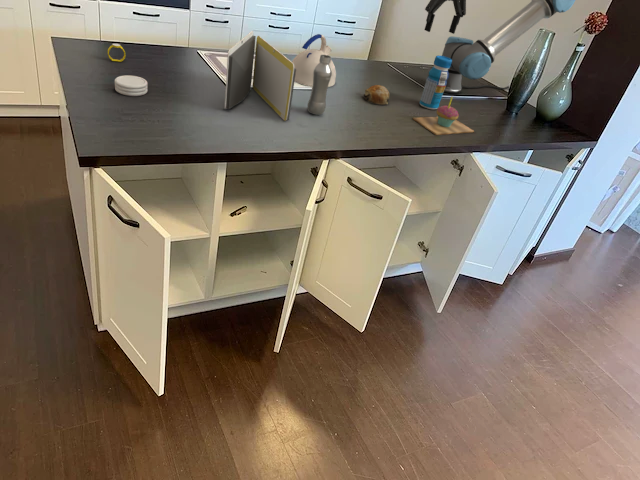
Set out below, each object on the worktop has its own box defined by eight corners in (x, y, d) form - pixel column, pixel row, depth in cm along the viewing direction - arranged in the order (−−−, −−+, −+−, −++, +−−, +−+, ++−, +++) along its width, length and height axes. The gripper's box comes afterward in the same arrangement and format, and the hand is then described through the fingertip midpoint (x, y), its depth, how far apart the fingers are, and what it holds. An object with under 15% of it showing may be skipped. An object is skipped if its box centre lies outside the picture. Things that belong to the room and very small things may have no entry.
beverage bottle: (417, 106, 198) (432, 57, 186) (420, 100, 204) (435, 53, 193) (436, 112, 196) (453, 63, 185) (439, 106, 203) (455, 58, 191)
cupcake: (450, 131, 179) (461, 100, 172) (429, 123, 182) (439, 92, 175) (457, 125, 186) (468, 95, 179) (437, 117, 188) (447, 88, 182)
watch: (108, 62, 174) (107, 45, 170) (107, 59, 176) (106, 42, 172) (126, 62, 176) (125, 46, 173) (125, 60, 178) (124, 43, 175)
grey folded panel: (296, 121, 161) (305, 63, 149) (235, 124, 150) (240, 61, 139) (255, 83, 184) (260, 30, 172) (200, 83, 173) (202, 27, 162)
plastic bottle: (326, 112, 173) (337, 56, 161) (320, 118, 167) (331, 61, 156) (310, 107, 174) (320, 51, 162) (303, 113, 168) (313, 55, 157)
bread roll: (379, 114, 191) (393, 99, 187) (360, 98, 189) (372, 82, 185) (382, 107, 199) (394, 92, 195) (363, 91, 197) (375, 76, 193)
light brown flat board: (449, 117, 194) (450, 116, 193) (473, 132, 185) (474, 130, 184) (412, 119, 184) (412, 117, 184) (435, 135, 175) (436, 133, 174)
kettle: (344, 82, 205) (353, 39, 195) (318, 91, 190) (326, 44, 179) (305, 67, 212) (312, 25, 202) (278, 75, 197) (284, 29, 186)
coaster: (152, 89, 161) (152, 79, 159) (140, 99, 152) (139, 88, 150) (123, 83, 160) (122, 72, 158) (109, 92, 152) (108, 81, 150)
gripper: (473, -25, 191) (455, 30, 204) (427, -32, 179) (410, 27, 191) (486, -21, 186) (467, 36, 199) (440, -28, 174) (422, 33, 187)
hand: (439, 32), depth 195 cm, fingers open, 13 cm apart
